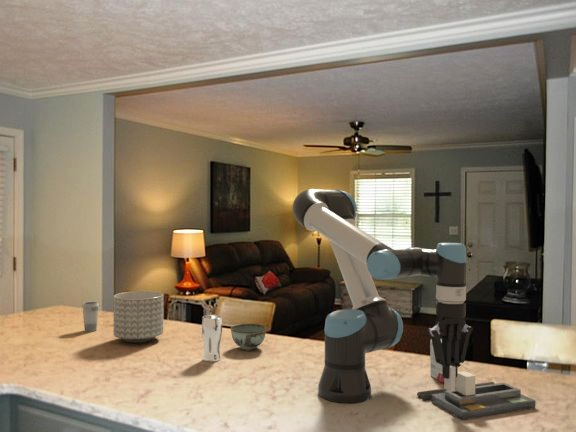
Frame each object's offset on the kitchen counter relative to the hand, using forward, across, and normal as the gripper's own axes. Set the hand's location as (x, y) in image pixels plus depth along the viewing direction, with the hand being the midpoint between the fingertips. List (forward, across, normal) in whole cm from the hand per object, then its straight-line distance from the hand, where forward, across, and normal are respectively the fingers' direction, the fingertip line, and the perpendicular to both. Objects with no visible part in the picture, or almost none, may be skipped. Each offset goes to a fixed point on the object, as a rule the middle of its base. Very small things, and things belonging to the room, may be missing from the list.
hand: (449, 389), depth 137 cm
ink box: (+6, +14, +21) cm, 26 cm away
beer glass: (+6, -50, +65) cm, 82 cm away
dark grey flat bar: (+5, +11, +10) cm, 16 cm away
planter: (+5, -72, +99) cm, 123 cm away
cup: (+5, -90, +122) cm, 152 cm away
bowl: (+6, -34, +74) cm, 82 cm away
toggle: (+3, +5, 0) cm, 6 cm away
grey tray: (+6, +11, 0) cm, 12 cm away
